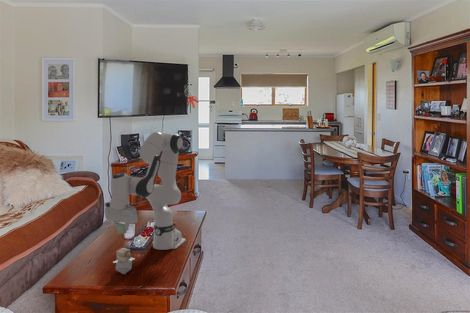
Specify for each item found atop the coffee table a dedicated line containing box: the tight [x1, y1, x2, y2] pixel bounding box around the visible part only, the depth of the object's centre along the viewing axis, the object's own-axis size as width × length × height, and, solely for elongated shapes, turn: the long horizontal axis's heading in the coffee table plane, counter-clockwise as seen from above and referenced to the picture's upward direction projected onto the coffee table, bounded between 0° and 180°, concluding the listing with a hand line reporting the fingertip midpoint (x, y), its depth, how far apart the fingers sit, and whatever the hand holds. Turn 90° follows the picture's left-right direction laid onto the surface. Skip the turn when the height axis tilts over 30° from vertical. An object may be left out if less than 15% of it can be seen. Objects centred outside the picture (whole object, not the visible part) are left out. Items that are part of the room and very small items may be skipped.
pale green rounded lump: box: [116, 222, 128, 235], centre depth 204 cm, size 5×5×5 cm
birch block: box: [115, 247, 131, 262], centre depth 206 cm, size 5×5×5 cm
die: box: [115, 259, 133, 275], centre depth 207 cm, size 8×9×10 cm
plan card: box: [112, 256, 136, 264], centre depth 222 cm, size 10×8×1 cm
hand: (122, 229), depth 204 cm, fingers closed on pale green rounded lump, 5 cm apart
